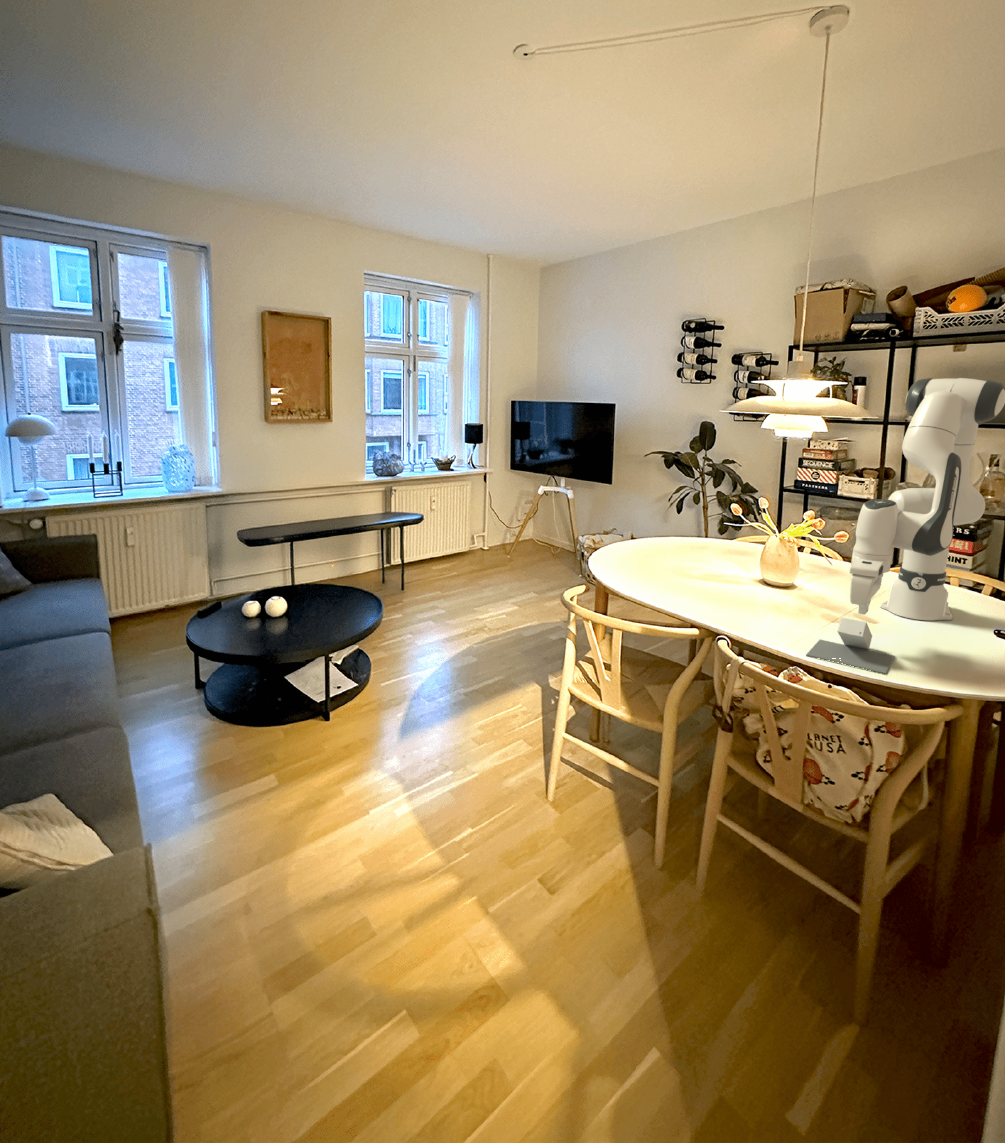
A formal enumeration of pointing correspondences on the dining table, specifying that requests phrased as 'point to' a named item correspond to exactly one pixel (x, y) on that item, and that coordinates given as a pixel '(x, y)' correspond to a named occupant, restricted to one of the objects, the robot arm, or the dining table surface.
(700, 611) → the dining table surface
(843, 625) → the skincare box
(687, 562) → the dining table surface
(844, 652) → the mat
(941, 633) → the dining table surface
